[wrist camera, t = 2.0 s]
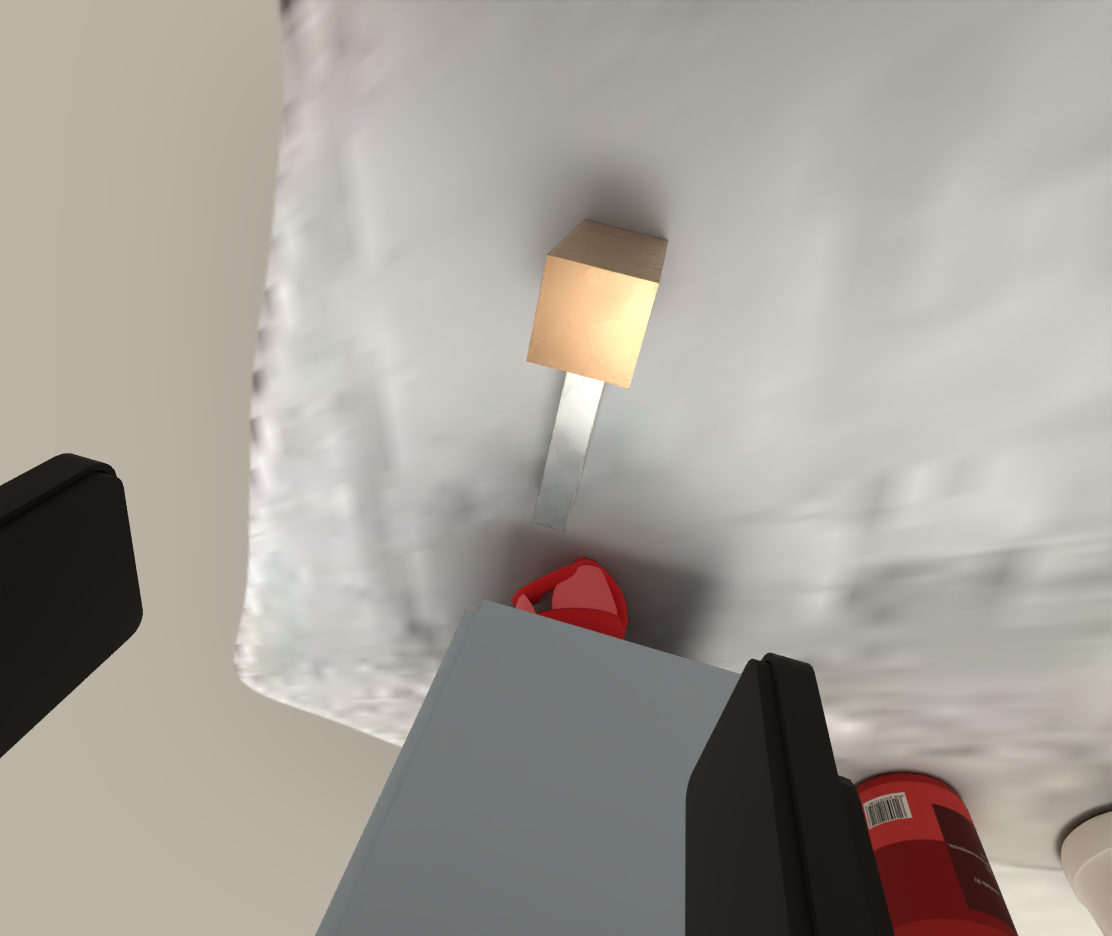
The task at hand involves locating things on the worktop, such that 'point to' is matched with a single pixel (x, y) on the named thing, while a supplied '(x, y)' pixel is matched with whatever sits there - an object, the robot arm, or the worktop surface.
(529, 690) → the cabinet
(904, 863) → the canned food
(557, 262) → the blade tool
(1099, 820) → the vodka
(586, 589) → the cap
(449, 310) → the worktop surface
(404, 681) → the worktop surface
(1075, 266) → the worktop surface
